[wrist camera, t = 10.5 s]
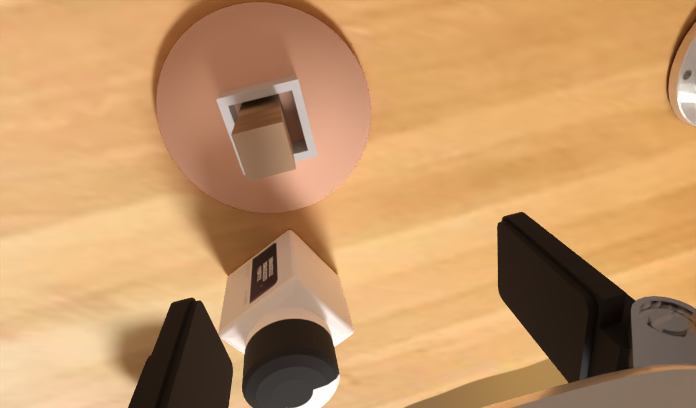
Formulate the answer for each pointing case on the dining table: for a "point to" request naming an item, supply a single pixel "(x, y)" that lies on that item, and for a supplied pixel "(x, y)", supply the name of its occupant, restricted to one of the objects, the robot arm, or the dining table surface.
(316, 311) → the container
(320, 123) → the clip base
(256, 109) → the wooden square post
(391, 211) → the dining table surface
